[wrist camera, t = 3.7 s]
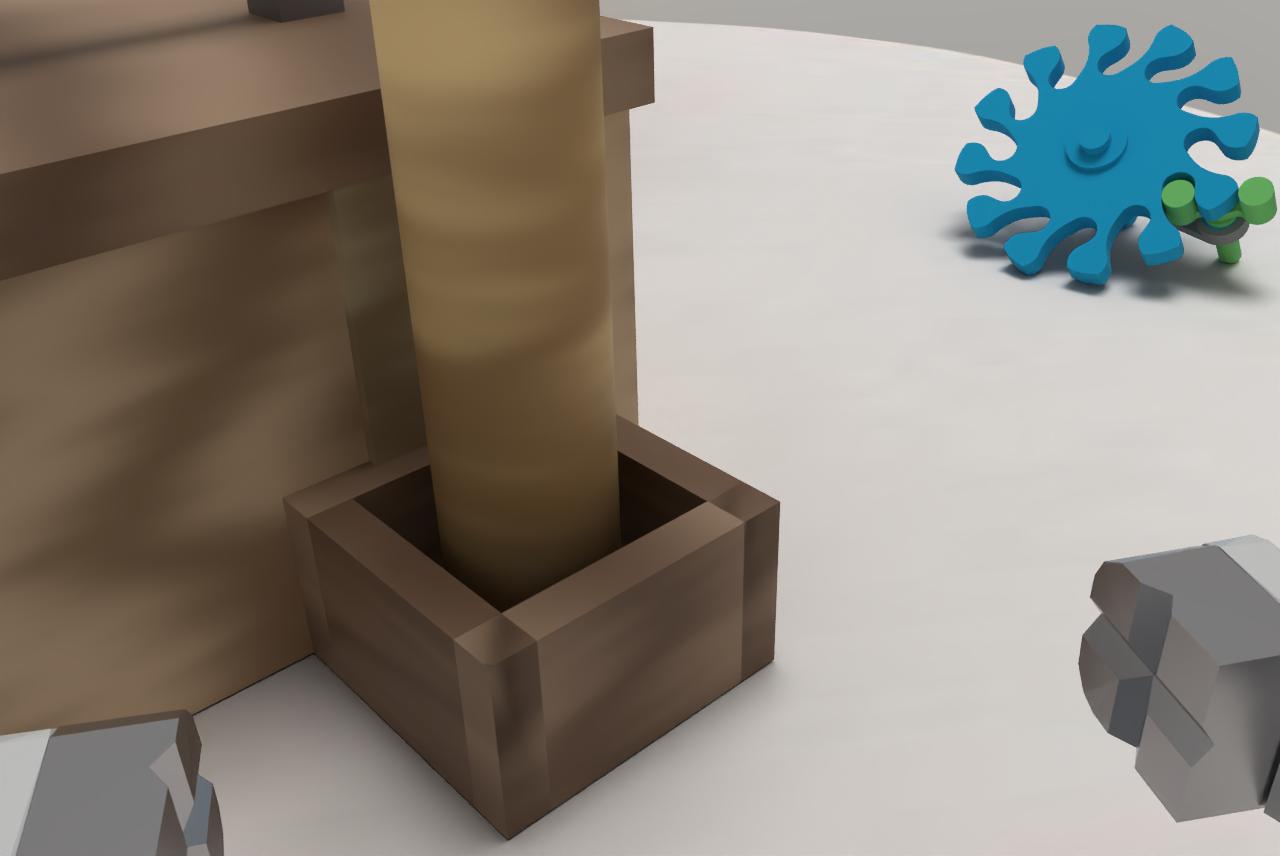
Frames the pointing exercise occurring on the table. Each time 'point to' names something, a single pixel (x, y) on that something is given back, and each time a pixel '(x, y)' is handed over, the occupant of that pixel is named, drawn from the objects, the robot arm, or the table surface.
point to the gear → (1117, 158)
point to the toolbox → (302, 417)
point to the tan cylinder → (507, 279)
